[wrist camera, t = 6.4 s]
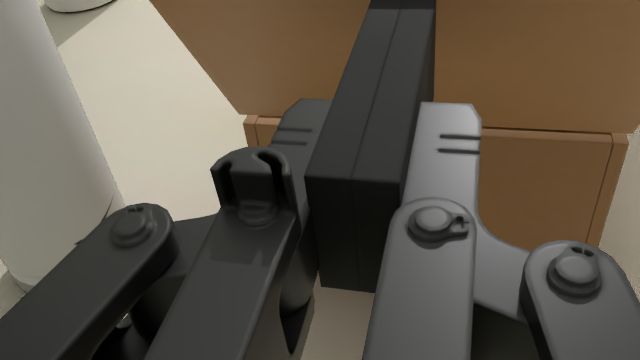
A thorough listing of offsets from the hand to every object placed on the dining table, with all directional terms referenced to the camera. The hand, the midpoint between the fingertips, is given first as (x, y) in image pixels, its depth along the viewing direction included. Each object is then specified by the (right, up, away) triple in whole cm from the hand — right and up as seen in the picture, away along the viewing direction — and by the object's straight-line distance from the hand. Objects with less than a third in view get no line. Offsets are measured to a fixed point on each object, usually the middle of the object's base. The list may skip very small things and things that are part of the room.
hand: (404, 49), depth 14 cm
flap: (+1, 0, +3) cm, 3 cm away
